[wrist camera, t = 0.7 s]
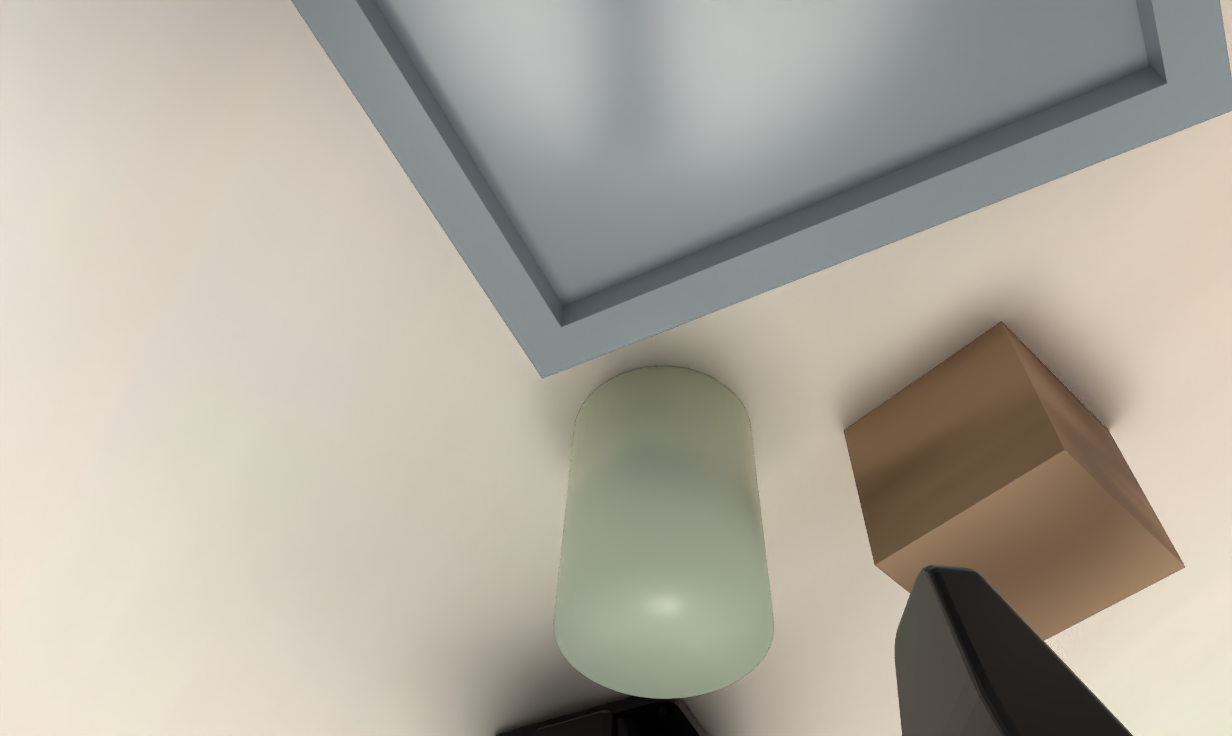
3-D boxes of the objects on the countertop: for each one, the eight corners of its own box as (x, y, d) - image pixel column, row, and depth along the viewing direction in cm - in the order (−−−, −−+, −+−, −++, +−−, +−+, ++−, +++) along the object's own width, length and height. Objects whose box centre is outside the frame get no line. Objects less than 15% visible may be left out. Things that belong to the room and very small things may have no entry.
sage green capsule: (778, 470, 26) (805, 666, 21) (622, 522, 27) (614, 718, 22) (708, 340, 23) (722, 526, 19) (541, 404, 25) (513, 593, 20)
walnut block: (1107, 428, 25) (1185, 567, 21) (952, 522, 27) (999, 663, 23) (1000, 319, 23) (1064, 450, 19) (843, 428, 25) (874, 565, 21)
